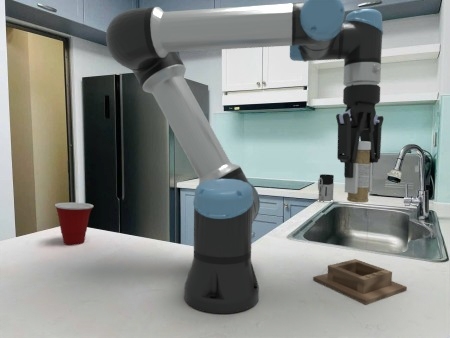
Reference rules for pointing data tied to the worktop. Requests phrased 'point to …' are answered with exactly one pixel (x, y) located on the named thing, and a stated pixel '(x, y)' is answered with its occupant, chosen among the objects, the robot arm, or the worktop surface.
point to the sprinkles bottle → (362, 173)
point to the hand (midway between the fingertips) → (358, 191)
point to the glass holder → (326, 187)
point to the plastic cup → (73, 221)
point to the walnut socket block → (360, 281)
